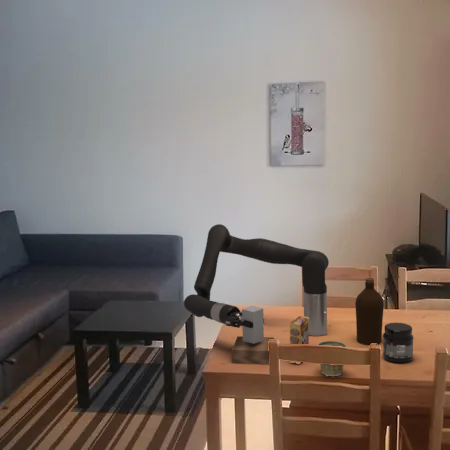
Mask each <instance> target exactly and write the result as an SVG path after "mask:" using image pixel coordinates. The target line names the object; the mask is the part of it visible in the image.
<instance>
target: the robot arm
mask: <svg viewBox="0 0 450 450" xmlns="http://www.w3.org/2000/svg"><path fill="white" fill-rule="evenodd" d="M205 244H206V246H205V248H204V249H205V250H204V254H203V257H202V260H201V264H200V268H199V271H198V274H197V276H196V279H195V283H194V286H193V289H194V291H195V292H196V294H194V293H193V294H189V295H188V296H186V297H185V298H184V301H183V306H184V308H185V310H187V312H189V313H191V314H193V316H194V317H197V318H202V317H205V318H207V319H209V320H213V321H215V322H217V323H220V324H223V325H225V326H228V327H232V328H238V329H239V328H241V327H244V326H245V327H248V328H253V322H250V321H247V320H245V321H244V319H242V310H240V308H238V307H237V306H234V305H232V304H228V303H225V302H224V303H223V302H219V301H214V300H211V290H212V287H213V284H214V281H215V278H216V273H217V267H218V260H219V255H220V253H225V254H234V255H240V256H243V257H246V258H250V259H253V260H257V261H259V262H264V263H268V264H271V265H272V264H273V265H292V266H297V267H301V277H302V278H301V280H302V282H301V283H302V287H303V317H308V318H309V336H312V337H313V336H314V337H316V336H317V337H319V336H320V337H321V336H327V334H328V308H327V307H328V299H327V298H328V297H327V296H328V293H327V292H328V287H327V286H328V285H327V284H326V270H327V269H328V266H329V263H330V262H329V258H328V257H327V255H326V254H325V253H323V252H322V251H318V250H312V249H306V248H305V249H304V248H299V247H296V246H295V247H294V246H291V245H288V244H286V243H281V242H278V241H274V240H270V239H266V238H262V237H260V238H258V237H256V238H250V239H249V238H247V239H245V238H244V239H243V238H241V237H236V236H233V235H231V234H230V231H229V229H228V228H227V227H226V226H225V225H224V224H215V225H213V226H212V227H211V228H210V229H209V230H208V233H207V238H206V243H205ZM263 322H264V323H265V318H264V317H263Z"/></svg>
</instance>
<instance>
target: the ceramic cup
mask: <svg viewBox="0 0 450 450" xmlns="http://www.w3.org/2000/svg"><path fill="white" fill-rule="evenodd" d="M317 345H332V346H342V347H347V348H348V345H347V344H346V343H344V342H342V341H338V340H322V341H320V342H318V343H317V344H316V346H317ZM319 364H320V363H319ZM344 366H345V365H330V364H320V369H321V374H322V373H323V374H325V375H328V376H336V375H342V374H341V373H343V369H344ZM323 374H322V375H323ZM325 375H324V376H325Z"/></svg>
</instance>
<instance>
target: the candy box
mask: <svg viewBox="0 0 450 450" xmlns="http://www.w3.org/2000/svg"><path fill="white" fill-rule="evenodd" d="M289 324H290V325H289V329H290V330H289V345H290V344H309V343H310V342H309V340H310V339H309V337H310V335H309V318H308V317H304V315H303V316H301V315H299V316H297V317H296V318H295V319H294V320H293V321H291V322H290V323H289ZM294 363H296V362H294Z"/></svg>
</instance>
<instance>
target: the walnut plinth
mask: <svg viewBox="0 0 450 450" xmlns="http://www.w3.org/2000/svg"><path fill="white" fill-rule="evenodd" d="M269 339H274V340H275V337H272V336H271V337H269V336H268V337H267V336H264V340H262V341H260V342H257V343H255V344H253V343H249V342H246V341H243V335H242V336H239V335H238V336H237V337H236V339H235V342H234V344H233V346H232V349H231V363H232V364H245V365H246V364H251V365H253V364H254V365H269V364H268V363H269V351H268V341H269Z"/></svg>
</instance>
